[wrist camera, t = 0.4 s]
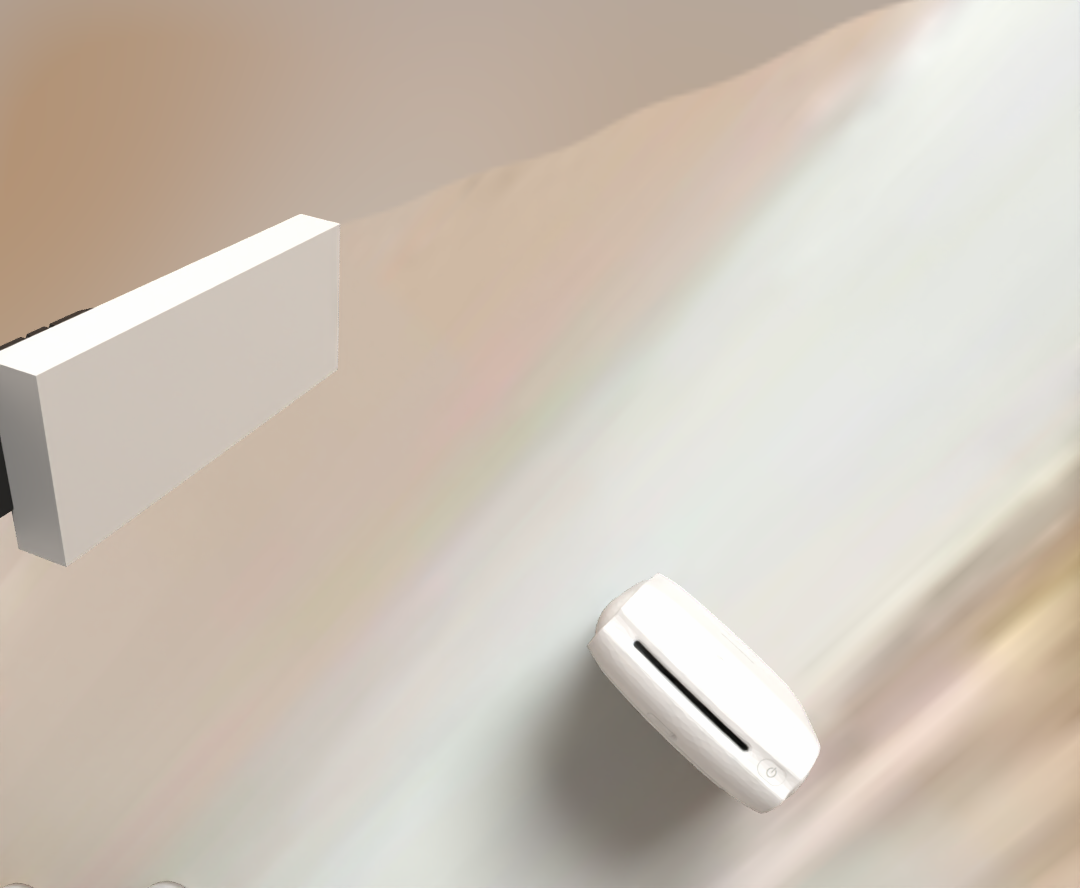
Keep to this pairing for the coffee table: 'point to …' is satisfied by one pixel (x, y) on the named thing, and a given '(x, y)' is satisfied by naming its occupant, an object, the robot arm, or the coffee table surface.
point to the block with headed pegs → (159, 887)
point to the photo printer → (706, 692)
